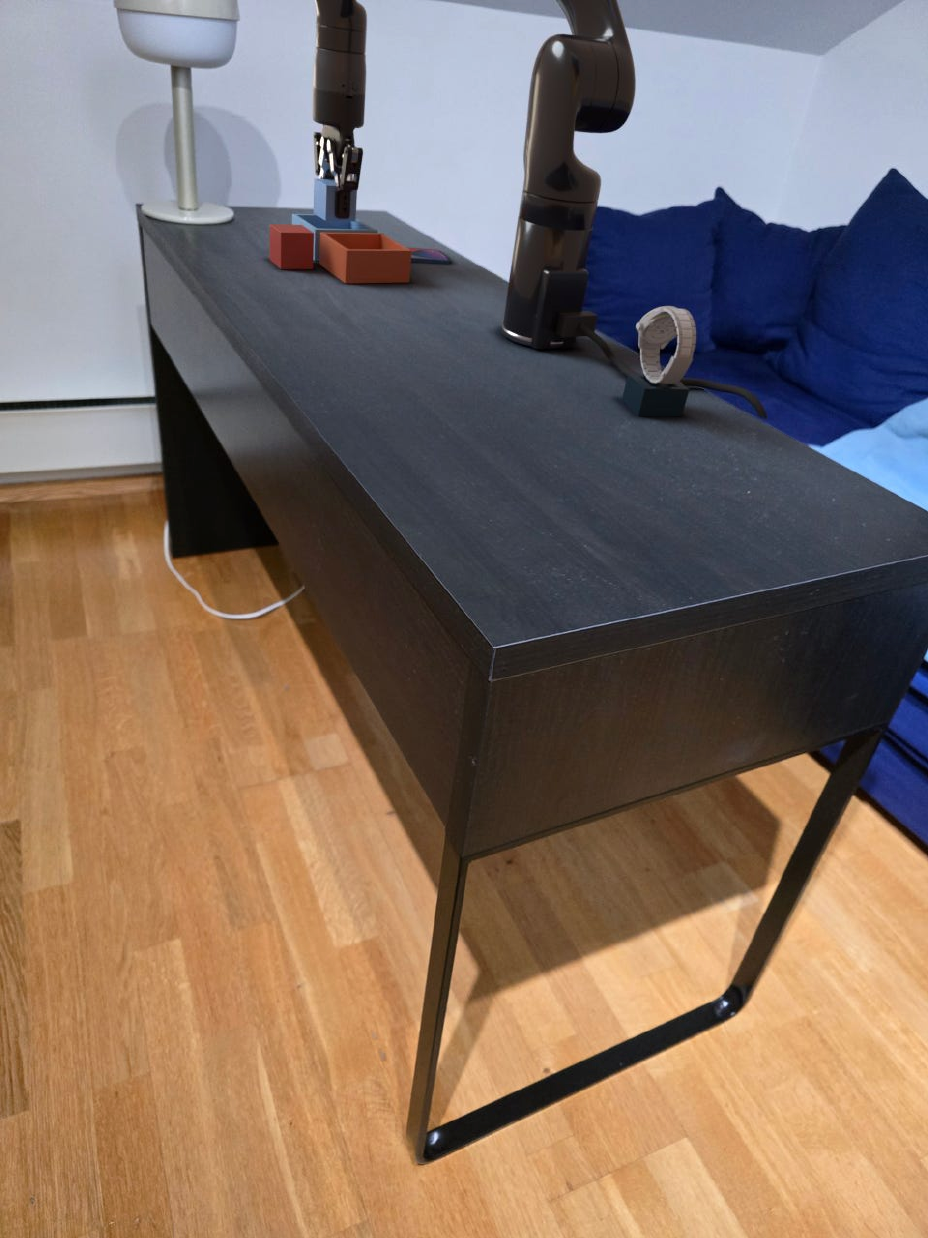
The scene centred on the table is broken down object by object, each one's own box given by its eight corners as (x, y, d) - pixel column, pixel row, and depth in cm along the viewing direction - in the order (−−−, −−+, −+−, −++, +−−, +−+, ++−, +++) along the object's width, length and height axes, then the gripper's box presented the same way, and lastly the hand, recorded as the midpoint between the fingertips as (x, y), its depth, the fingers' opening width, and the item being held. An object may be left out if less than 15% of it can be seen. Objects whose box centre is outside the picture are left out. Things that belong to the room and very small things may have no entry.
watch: (656, 394, 103) (681, 298, 97) (689, 422, 97) (718, 321, 91) (613, 394, 101) (636, 296, 95) (644, 422, 95) (670, 319, 89)
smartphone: (451, 267, 143) (451, 260, 143) (360, 261, 139) (361, 253, 138) (438, 256, 149) (439, 249, 149) (351, 249, 144) (351, 242, 144)
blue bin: (375, 260, 139) (377, 230, 136) (314, 260, 134) (315, 229, 132) (350, 244, 146) (351, 214, 143) (291, 243, 141) (291, 213, 138)
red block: (313, 268, 130) (314, 232, 127) (280, 269, 128) (281, 232, 125) (301, 259, 134) (301, 224, 131) (269, 259, 131) (269, 224, 128)
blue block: (355, 221, 136) (357, 186, 134) (325, 220, 134) (326, 185, 131) (343, 214, 140) (344, 179, 137) (313, 213, 138) (314, 178, 135)
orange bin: (409, 282, 131) (411, 250, 128) (345, 283, 126) (346, 250, 123) (380, 263, 138) (382, 233, 135) (319, 263, 133) (319, 232, 130)
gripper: (297, 78, 130) (295, 202, 140) (334, 91, 120) (329, 224, 130) (344, 82, 134) (339, 204, 143) (383, 96, 124) (376, 225, 134)
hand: (335, 213), depth 137 cm, fingers closed on blue block, 5 cm apart
